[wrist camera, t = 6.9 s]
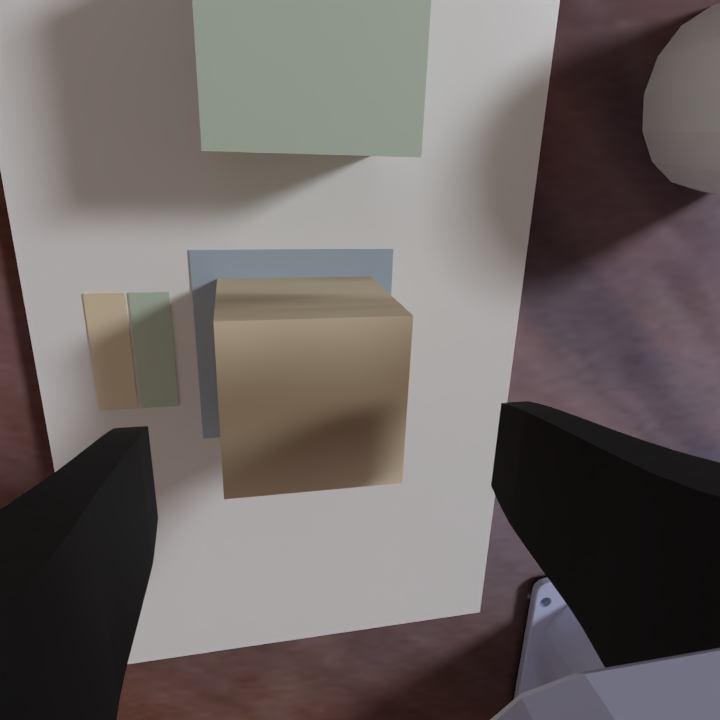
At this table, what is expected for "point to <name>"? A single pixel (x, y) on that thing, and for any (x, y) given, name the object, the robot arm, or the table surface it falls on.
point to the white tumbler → (687, 105)
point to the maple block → (310, 384)
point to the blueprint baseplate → (271, 260)
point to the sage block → (312, 76)
